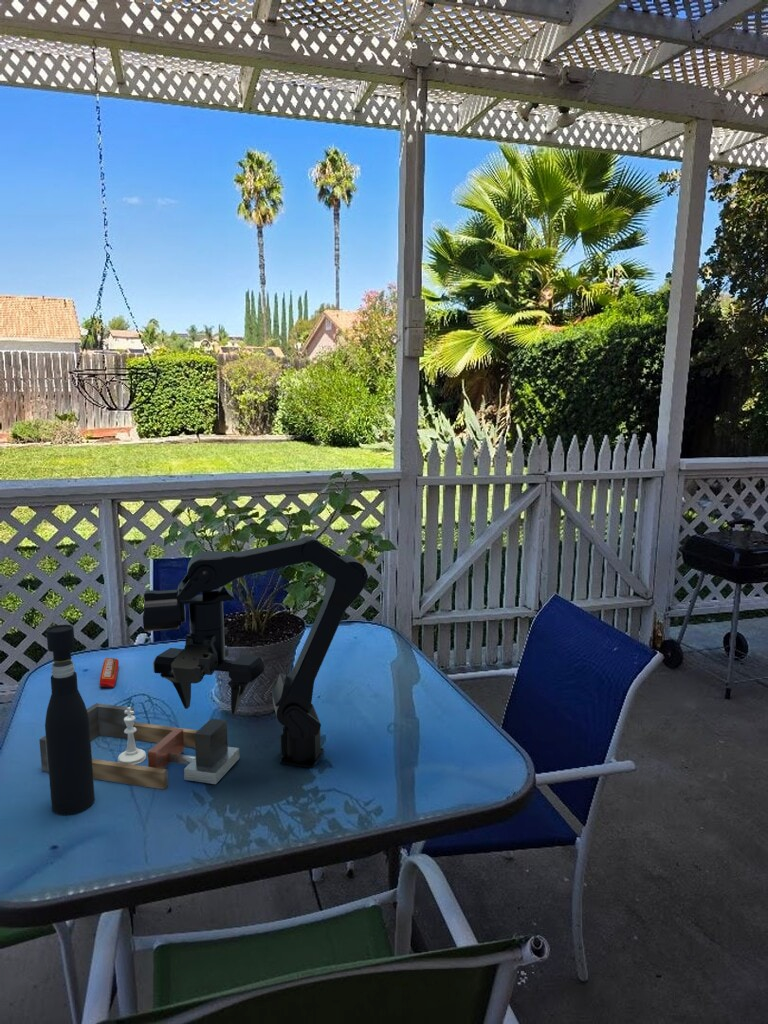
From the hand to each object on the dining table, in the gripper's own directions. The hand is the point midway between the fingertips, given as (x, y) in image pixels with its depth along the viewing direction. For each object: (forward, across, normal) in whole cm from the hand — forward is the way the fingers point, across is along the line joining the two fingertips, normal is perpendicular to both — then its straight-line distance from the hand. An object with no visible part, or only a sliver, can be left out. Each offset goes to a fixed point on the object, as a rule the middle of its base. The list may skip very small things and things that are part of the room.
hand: (210, 710), depth 120 cm
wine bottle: (+12, -17, -15) cm, 26 cm away
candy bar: (+12, -45, +33) cm, 57 cm away
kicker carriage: (+11, -3, 0) cm, 12 cm away
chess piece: (+12, -16, 0) cm, 20 cm away
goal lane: (+11, -18, 0) cm, 21 cm away
